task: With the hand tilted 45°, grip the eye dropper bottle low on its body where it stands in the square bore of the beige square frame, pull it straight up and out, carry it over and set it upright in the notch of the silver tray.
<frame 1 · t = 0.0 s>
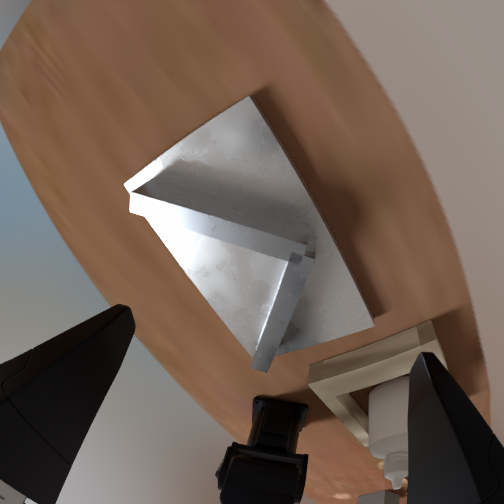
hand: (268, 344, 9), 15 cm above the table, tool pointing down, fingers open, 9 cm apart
eye dropper bottle: (393, 385, 29), resting in beige square frame
silver tray: (225, 264, 26), on the table
beige square frame: (393, 387, 29), on the table
perfume bottle: (379, 495, 48), on the table
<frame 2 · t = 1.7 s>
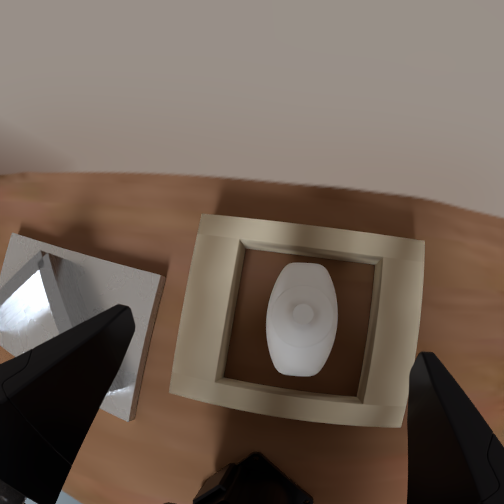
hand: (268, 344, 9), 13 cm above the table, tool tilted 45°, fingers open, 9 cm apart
eye dropper bottle: (301, 323, 22), resting in beige square frame
silver tray: (53, 345, 24), on the table
beige square frame: (301, 323, 22), on the table
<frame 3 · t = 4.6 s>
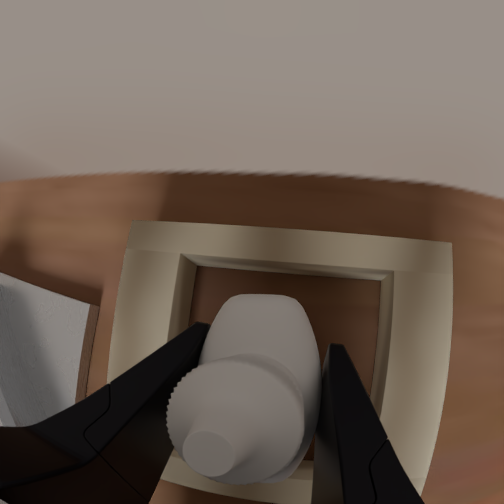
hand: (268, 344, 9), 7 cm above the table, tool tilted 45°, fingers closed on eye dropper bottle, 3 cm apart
eye dropper bottle: (277, 368, 15), resting in beige square frame, touching gripper
beige square frame: (277, 368, 15), on the table
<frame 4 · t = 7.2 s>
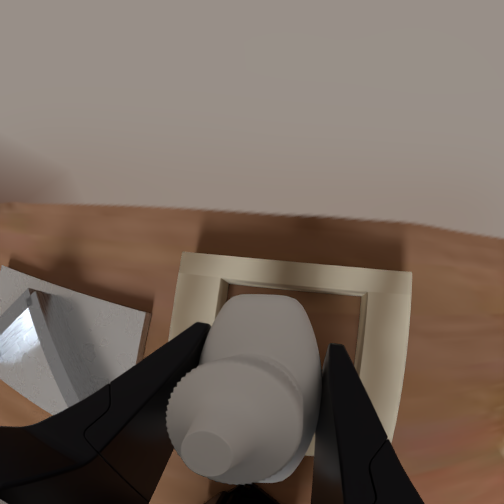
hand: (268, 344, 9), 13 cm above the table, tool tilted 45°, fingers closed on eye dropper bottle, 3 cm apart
eye dropper bottle: (278, 367, 15), point 7 cm above the table, touching gripper
silver tray: (47, 377, 23), on the table
beige square frame: (286, 357, 21), on the table
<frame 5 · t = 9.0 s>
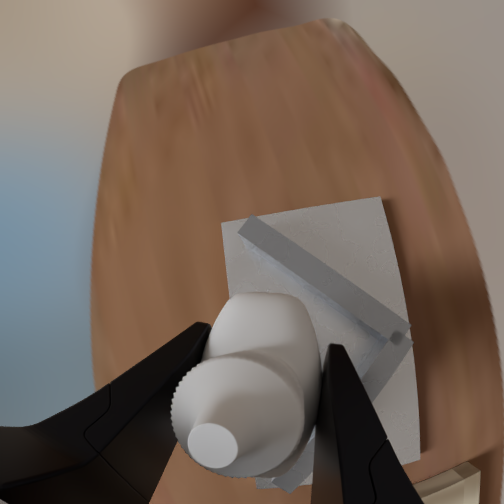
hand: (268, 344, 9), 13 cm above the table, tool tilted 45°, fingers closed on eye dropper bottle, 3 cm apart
eye dropper bottle: (278, 365, 15), point 6 cm above the table, touching gripper
silver tray: (282, 355, 21), on the table
when the fingers open (9 cm above the table, at t = 10.2 s): eye dropper bottle stays where it is, resting on silver tray.
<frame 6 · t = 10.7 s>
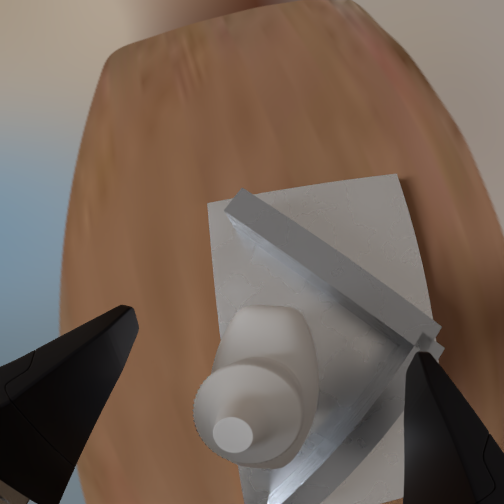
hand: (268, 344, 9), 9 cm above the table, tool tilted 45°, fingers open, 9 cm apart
eye dropper bottle: (278, 368, 16), point 1 cm above the table, touching silver tray
silver tray: (280, 364, 17), on the table
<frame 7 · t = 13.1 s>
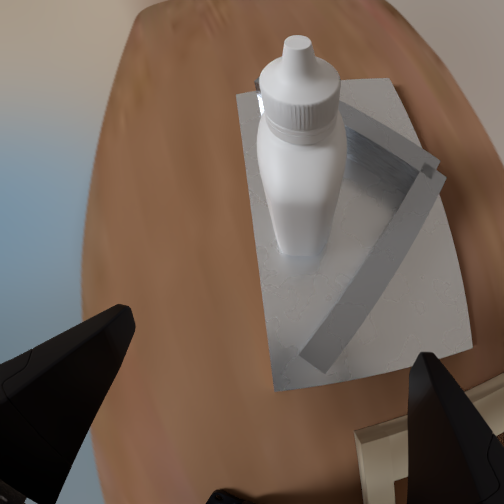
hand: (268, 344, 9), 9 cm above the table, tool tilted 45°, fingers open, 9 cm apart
eye dropper bottle: (302, 212, 19), point 1 cm above the table, touching silver tray
silver tray: (302, 215, 19), on the table
beige square frame: (452, 495, 13), on the table
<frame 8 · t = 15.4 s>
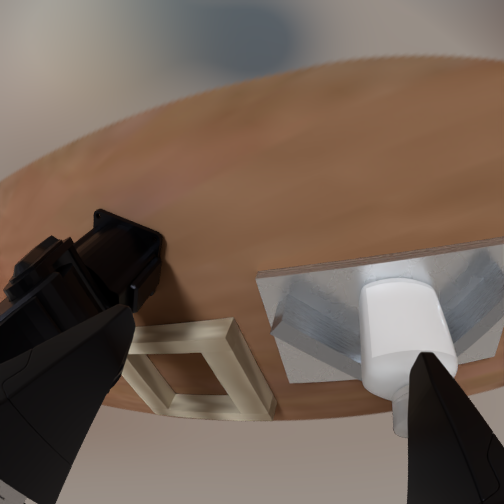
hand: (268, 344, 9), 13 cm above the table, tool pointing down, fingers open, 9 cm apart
eye dropper bottle: (396, 294, 21), point 1 cm above the table, touching silver tray
silver tray: (396, 288, 22), on the table
beige square frame: (190, 368, 32), on the table
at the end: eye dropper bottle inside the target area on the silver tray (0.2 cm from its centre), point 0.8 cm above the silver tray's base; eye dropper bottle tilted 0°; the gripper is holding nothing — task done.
